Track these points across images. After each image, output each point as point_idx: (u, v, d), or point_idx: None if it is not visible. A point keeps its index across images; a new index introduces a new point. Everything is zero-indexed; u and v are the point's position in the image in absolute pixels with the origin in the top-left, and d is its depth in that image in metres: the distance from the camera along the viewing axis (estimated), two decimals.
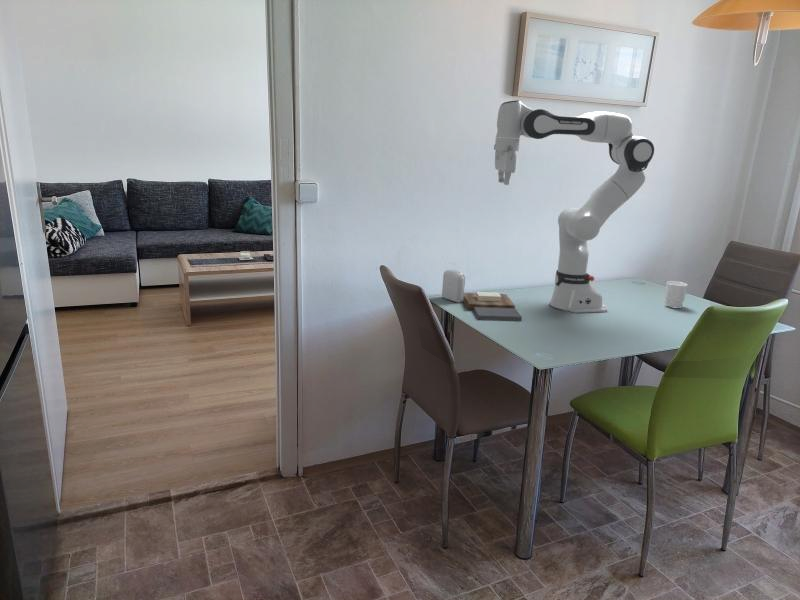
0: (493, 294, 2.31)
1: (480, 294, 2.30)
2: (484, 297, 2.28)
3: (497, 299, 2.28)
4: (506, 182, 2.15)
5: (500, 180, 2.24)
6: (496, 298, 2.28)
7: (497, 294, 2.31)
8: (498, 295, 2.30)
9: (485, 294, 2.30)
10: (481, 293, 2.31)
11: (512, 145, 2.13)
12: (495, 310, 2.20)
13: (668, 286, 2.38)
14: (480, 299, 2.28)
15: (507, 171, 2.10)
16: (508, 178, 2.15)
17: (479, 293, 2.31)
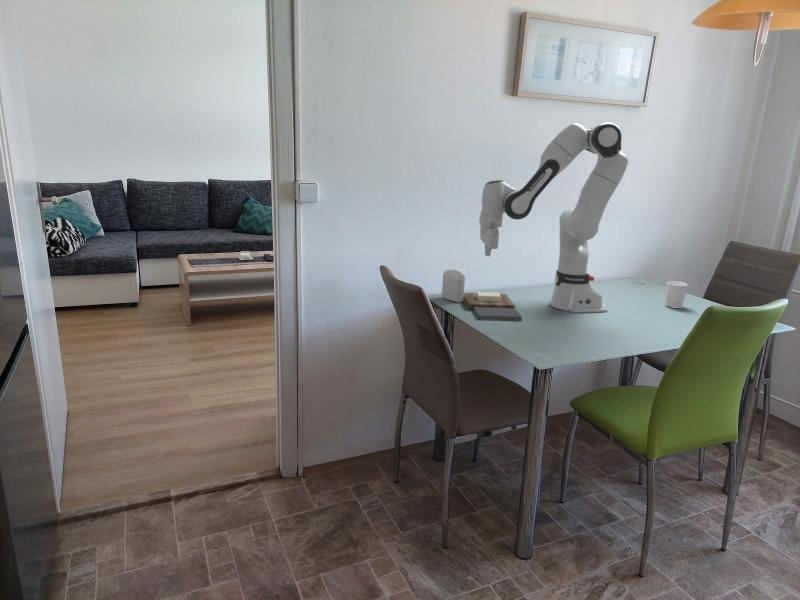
0: (493, 294, 2.31)
1: (480, 294, 2.30)
2: (484, 297, 2.28)
3: (497, 299, 2.28)
4: (488, 254, 2.33)
5: None
6: (496, 298, 2.28)
7: (497, 294, 2.31)
8: (498, 295, 2.30)
9: (485, 294, 2.30)
10: (481, 293, 2.31)
11: (495, 222, 2.27)
12: (495, 310, 2.20)
13: (668, 286, 2.38)
14: (480, 299, 2.28)
15: (490, 247, 2.24)
16: (489, 250, 2.32)
17: (479, 293, 2.31)
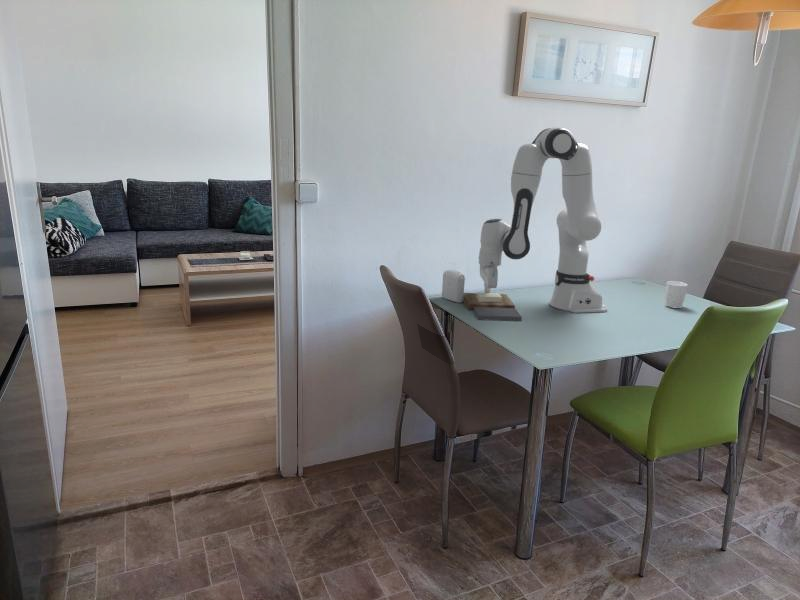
0: (493, 295, 2.30)
1: (480, 295, 2.29)
2: (484, 298, 2.27)
3: (497, 300, 2.27)
4: (487, 292, 2.33)
5: None
6: (497, 298, 2.27)
7: (497, 295, 2.30)
8: (498, 296, 2.29)
9: (485, 295, 2.29)
10: (481, 294, 2.30)
11: (494, 261, 2.26)
12: (495, 310, 2.20)
13: (668, 286, 2.38)
14: (480, 300, 2.27)
15: (489, 287, 2.24)
16: (489, 288, 2.32)
17: (479, 294, 2.30)
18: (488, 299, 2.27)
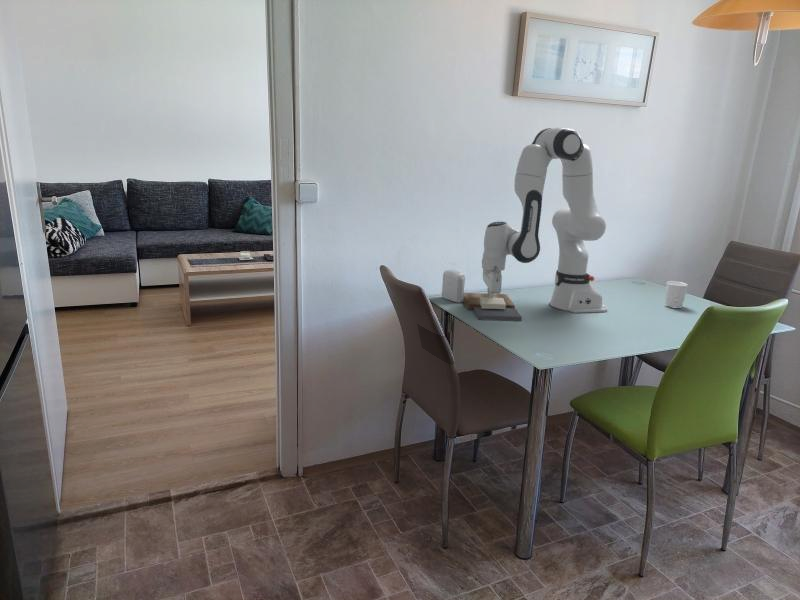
0: (497, 301, 2.22)
1: (484, 301, 2.21)
2: (488, 305, 2.20)
3: (501, 307, 2.20)
4: (491, 297, 2.25)
5: None
6: (500, 306, 2.20)
7: (501, 301, 2.22)
8: (502, 302, 2.21)
9: (489, 301, 2.22)
10: (485, 299, 2.23)
11: (498, 265, 2.19)
12: (495, 310, 2.20)
13: (668, 286, 2.38)
14: (484, 307, 2.20)
15: (493, 292, 2.16)
16: (492, 294, 2.24)
17: (483, 299, 2.23)
18: (492, 306, 2.20)
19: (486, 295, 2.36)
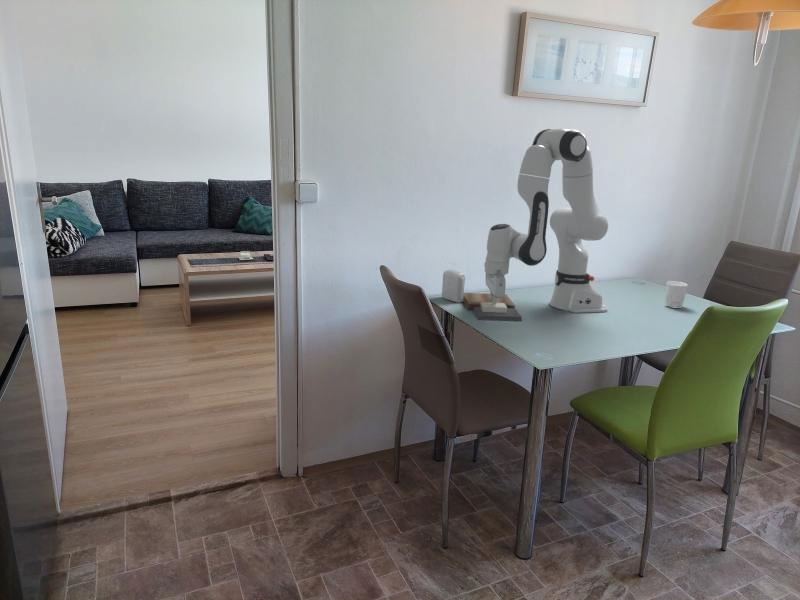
0: (498, 305, 2.20)
1: (485, 305, 2.19)
2: (489, 308, 2.17)
3: (503, 310, 2.18)
4: (494, 302, 2.19)
5: None
6: (502, 309, 2.17)
7: (503, 305, 2.20)
8: (504, 306, 2.19)
9: (490, 305, 2.19)
10: (486, 304, 2.21)
11: (502, 269, 2.13)
12: None
13: (668, 286, 2.38)
14: (485, 310, 2.17)
15: (496, 297, 2.10)
16: (496, 298, 2.18)
17: (484, 304, 2.21)
18: (493, 309, 2.17)
19: (486, 295, 2.36)
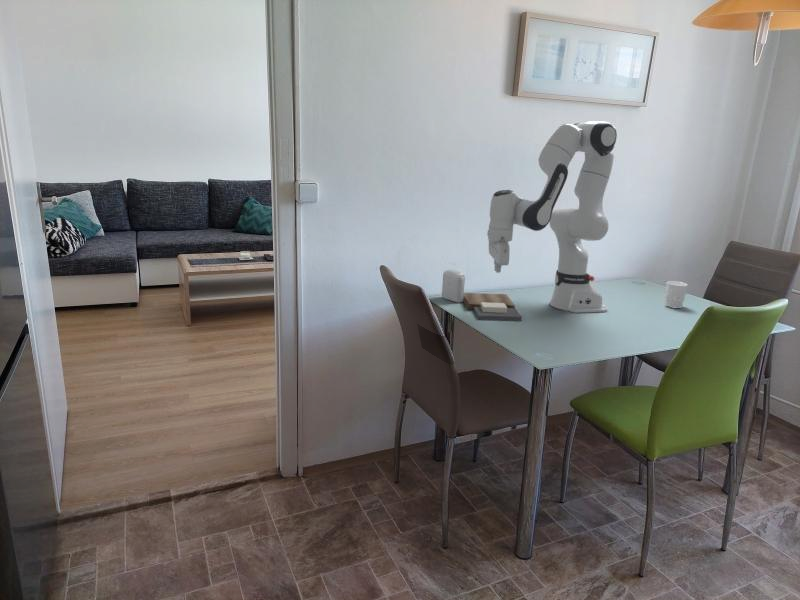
0: (498, 305, 2.20)
1: (485, 305, 2.19)
2: (489, 308, 2.17)
3: (503, 310, 2.18)
4: (498, 270, 2.15)
5: None
6: (502, 309, 2.17)
7: (503, 305, 2.20)
8: (504, 306, 2.19)
9: (490, 305, 2.19)
10: (486, 304, 2.21)
11: (505, 236, 2.09)
12: None
13: (668, 286, 2.38)
14: (485, 310, 2.17)
15: (500, 264, 2.06)
16: (499, 266, 2.15)
17: (484, 304, 2.21)
18: (493, 309, 2.17)
19: (486, 295, 2.36)
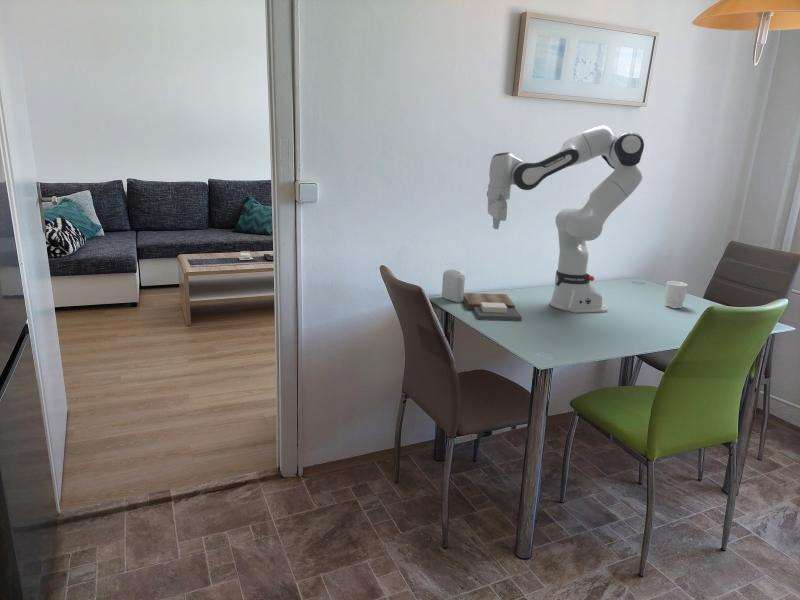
0: (498, 305, 2.20)
1: (485, 305, 2.19)
2: (489, 308, 2.17)
3: (503, 310, 2.18)
4: (496, 227, 2.34)
5: None
6: (502, 309, 2.17)
7: (503, 305, 2.20)
8: (504, 306, 2.19)
9: (490, 305, 2.19)
10: (486, 304, 2.21)
11: (503, 194, 2.27)
12: None
13: (668, 286, 2.38)
14: (485, 310, 2.17)
15: (499, 219, 2.25)
16: (498, 223, 2.33)
17: (484, 304, 2.21)
18: (493, 309, 2.17)
19: (486, 295, 2.36)
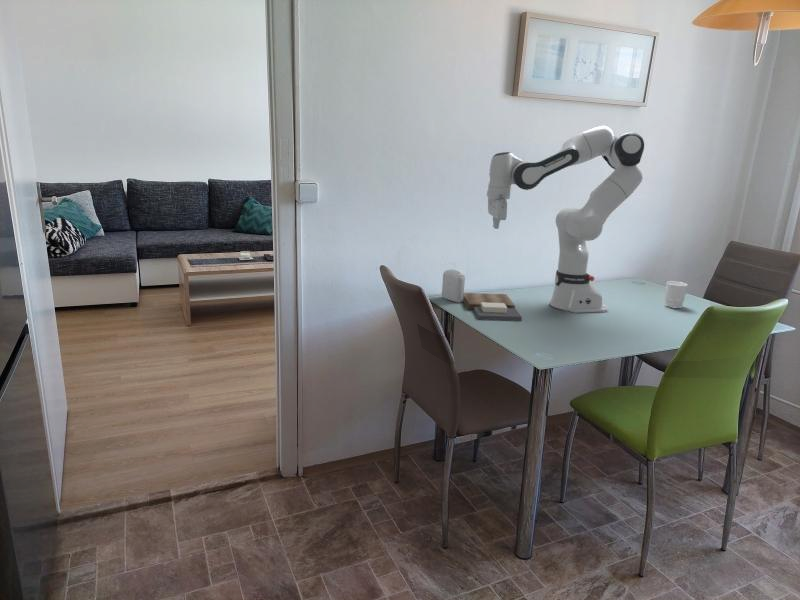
0: (498, 305, 2.20)
1: (485, 305, 2.19)
2: (489, 308, 2.17)
3: (503, 310, 2.18)
4: (496, 226, 2.34)
5: None
6: (502, 309, 2.17)
7: (503, 305, 2.20)
8: (504, 306, 2.19)
9: (490, 305, 2.19)
10: (486, 304, 2.21)
11: (503, 194, 2.28)
12: None
13: (668, 286, 2.38)
14: (485, 310, 2.17)
15: (499, 219, 2.25)
16: (498, 223, 2.33)
17: (484, 304, 2.21)
18: (493, 309, 2.17)
19: (486, 295, 2.36)
